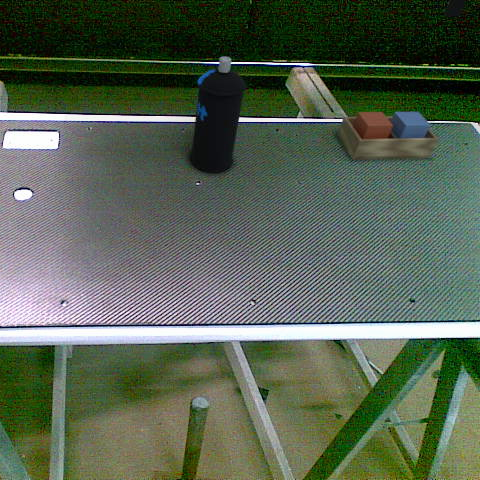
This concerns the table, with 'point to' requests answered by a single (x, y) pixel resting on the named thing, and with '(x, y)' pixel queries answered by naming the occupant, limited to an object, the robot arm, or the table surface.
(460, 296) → the table surface
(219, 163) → the aerosol can
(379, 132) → the terracotta block
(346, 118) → the tray
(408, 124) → the blue block
